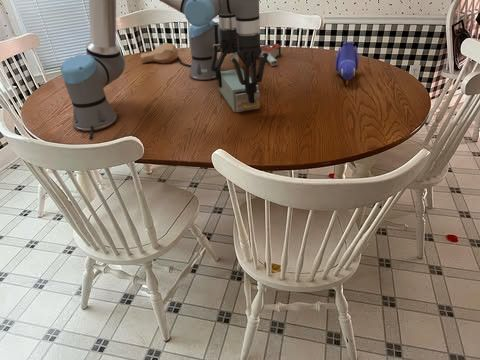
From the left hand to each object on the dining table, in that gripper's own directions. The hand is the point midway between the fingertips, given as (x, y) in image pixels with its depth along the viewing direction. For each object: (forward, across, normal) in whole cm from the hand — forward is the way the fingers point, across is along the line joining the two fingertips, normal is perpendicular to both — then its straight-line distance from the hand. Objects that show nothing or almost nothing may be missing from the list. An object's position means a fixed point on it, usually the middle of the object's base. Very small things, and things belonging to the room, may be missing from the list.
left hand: (251, 101), depth 128 cm
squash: (+5, +24, -80) cm, 84 cm away
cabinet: (+5, 0, -16) cm, 17 cm away
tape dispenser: (+5, -28, -58) cm, 65 cm away
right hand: (+2, 0, -24) cm, 24 cm away
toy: (+6, -49, -18) cm, 52 cm away
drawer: (+4, 0, -10) cm, 11 cm away
